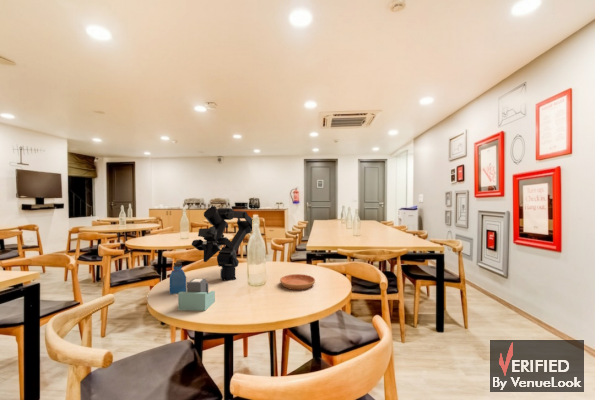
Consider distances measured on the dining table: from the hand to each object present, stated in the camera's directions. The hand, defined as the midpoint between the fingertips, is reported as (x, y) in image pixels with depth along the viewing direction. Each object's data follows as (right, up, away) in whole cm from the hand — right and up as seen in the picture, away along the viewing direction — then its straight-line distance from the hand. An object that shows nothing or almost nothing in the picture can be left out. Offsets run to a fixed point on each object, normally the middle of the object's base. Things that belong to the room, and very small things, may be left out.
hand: (204, 261), depth 110 cm
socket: (+3, -13, -14) cm, 19 cm away
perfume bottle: (-12, -13, +1) cm, 18 cm away
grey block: (+3, -13, -15) cm, 20 cm away
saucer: (+40, -13, +8) cm, 43 cm away
